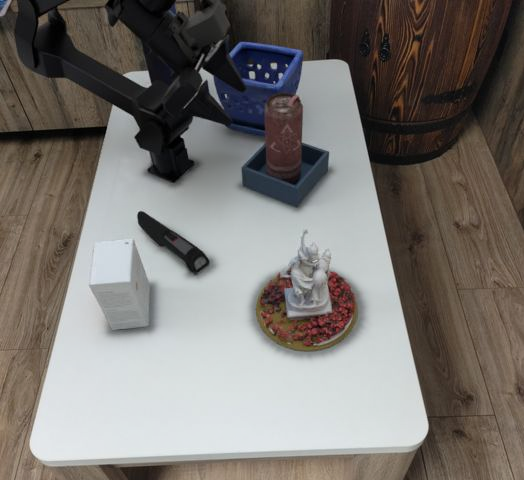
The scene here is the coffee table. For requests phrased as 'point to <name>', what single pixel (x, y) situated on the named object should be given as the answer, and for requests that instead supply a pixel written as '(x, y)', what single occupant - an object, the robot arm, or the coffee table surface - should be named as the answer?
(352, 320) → the figurine
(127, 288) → the small box
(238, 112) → the flower pot
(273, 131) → the can
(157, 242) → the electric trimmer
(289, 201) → the bin
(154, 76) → the book
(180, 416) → the coffee table surface
